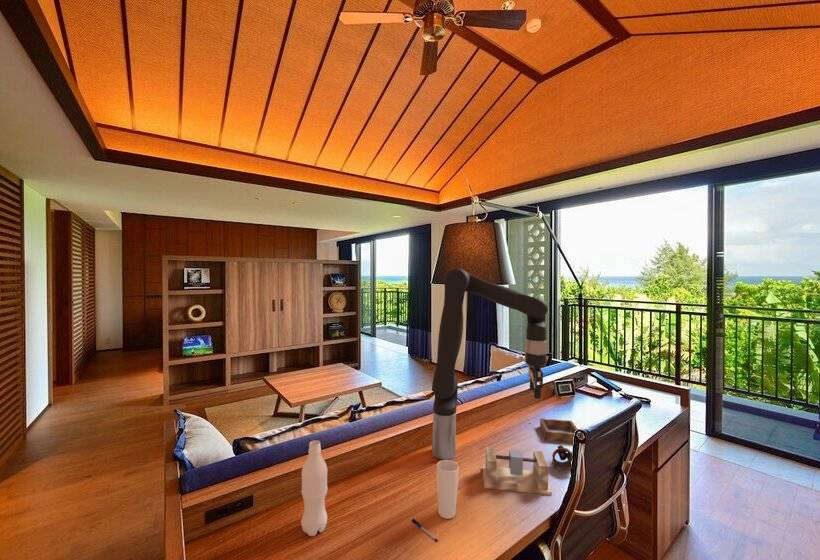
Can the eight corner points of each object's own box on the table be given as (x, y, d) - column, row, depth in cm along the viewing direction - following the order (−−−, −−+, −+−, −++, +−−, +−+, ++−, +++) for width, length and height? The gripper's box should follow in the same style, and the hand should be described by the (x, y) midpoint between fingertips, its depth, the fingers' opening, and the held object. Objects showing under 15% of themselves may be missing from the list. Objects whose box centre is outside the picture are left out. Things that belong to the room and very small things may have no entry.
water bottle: (329, 520, 104) (330, 436, 103) (324, 538, 96) (324, 449, 96) (305, 520, 103) (305, 436, 103) (298, 539, 96) (298, 449, 95)
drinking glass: (443, 503, 112) (444, 456, 111) (462, 512, 108) (463, 464, 107) (431, 514, 107) (432, 466, 106) (450, 525, 102) (451, 474, 102)
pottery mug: (586, 476, 129) (579, 459, 127) (562, 485, 130) (554, 469, 128) (572, 451, 140) (565, 436, 138) (549, 460, 141) (542, 444, 139)
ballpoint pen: (411, 521, 104) (411, 518, 104) (413, 520, 104) (413, 517, 104) (436, 542, 96) (436, 539, 96) (438, 541, 96) (438, 537, 96)
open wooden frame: (546, 440, 154) (546, 431, 154) (539, 426, 168) (539, 418, 168) (581, 443, 152) (581, 434, 152) (571, 429, 166) (571, 420, 166)
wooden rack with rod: (484, 487, 120) (484, 462, 120) (482, 468, 132) (483, 444, 132) (551, 495, 117) (552, 468, 116) (543, 474, 128) (544, 450, 128)
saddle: (510, 474, 122) (511, 456, 122) (508, 466, 127) (509, 449, 127) (522, 475, 121) (522, 457, 121) (520, 467, 126) (520, 450, 126)
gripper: (522, 346, 139) (521, 387, 140) (528, 355, 125) (527, 400, 126) (542, 347, 138) (541, 388, 139) (551, 356, 124) (549, 401, 124)
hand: (534, 394), depth 132 cm, fingers open, 8 cm apart
